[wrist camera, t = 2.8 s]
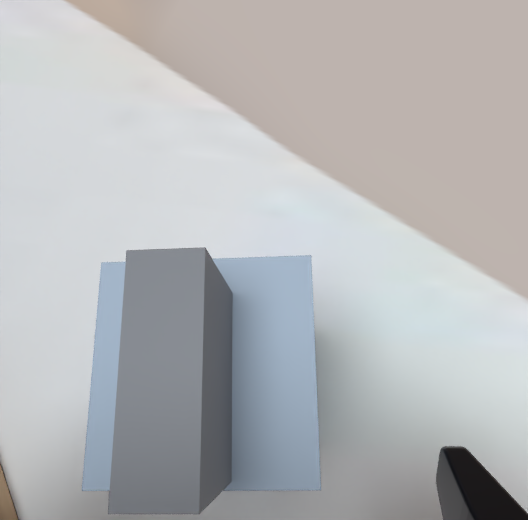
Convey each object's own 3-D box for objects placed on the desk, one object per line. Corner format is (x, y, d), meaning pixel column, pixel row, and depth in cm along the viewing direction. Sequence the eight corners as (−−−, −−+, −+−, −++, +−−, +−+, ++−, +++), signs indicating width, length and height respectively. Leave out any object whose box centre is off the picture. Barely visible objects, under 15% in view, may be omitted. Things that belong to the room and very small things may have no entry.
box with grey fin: (312, 449, 18) (329, 527, 6) (190, 450, 18) (-16, 526, 7) (307, 327, 19) (314, 196, 8) (194, 330, 20) (27, 209, 8)
